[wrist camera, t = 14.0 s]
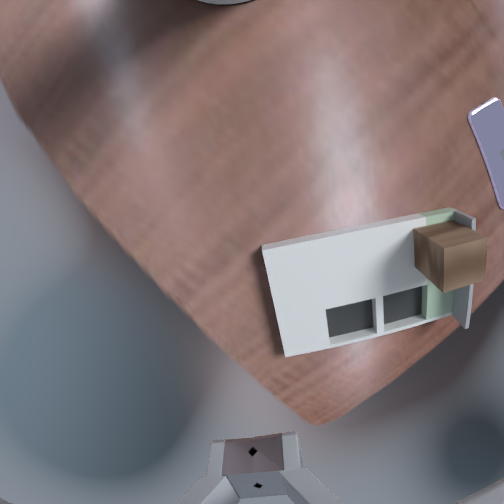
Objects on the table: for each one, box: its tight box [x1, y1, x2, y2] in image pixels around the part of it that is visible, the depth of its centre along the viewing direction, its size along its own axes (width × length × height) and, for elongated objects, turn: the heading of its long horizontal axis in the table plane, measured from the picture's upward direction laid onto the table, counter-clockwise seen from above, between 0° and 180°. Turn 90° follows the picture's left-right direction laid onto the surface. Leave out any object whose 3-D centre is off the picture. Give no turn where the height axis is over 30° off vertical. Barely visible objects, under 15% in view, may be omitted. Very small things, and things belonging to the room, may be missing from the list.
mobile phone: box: [468, 97, 504, 209], centre depth 33 cm, size 8×1×15 cm
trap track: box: [262, 207, 476, 357], centre depth 37 cm, size 15×25×6 cm, turn 103°
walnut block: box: [413, 220, 487, 293], centre depth 32 cm, size 5×6×8 cm
